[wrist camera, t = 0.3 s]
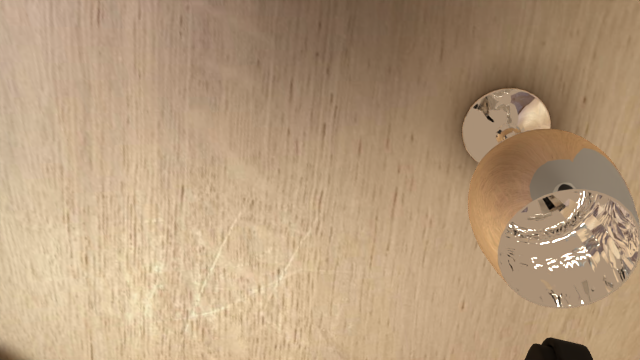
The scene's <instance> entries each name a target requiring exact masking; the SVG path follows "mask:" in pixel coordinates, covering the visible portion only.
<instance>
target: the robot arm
mask: <svg viewBox="0 0 640 360" xmlns="http://www.w3.org/2000/svg"><path fill="white" fill-rule="evenodd" d="M525 360H593V358H592V356H591V354H590V352H589V350H588V349H587V347H586V346H584V345H581V344H576V343H572V342H568V341H563V340H559V339H555V338H547V339H546V340H544V341H543V343H542V345H540V344H533V345H532V346H531V348H530V349H529V351H528V353H527V356H526V358H525Z"/></svg>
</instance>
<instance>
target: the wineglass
mask: <svg viewBox="0 0 640 360" xmlns="http://www.w3.org/2000/svg"><path fill="white" fill-rule="evenodd" d="M461 133H462V141H463V144H464V147H465V149H466V151H467V152H468V154H469V155H470V156H471V157H472V158H473V159H474V160H475V161H476V162H477V163H479V164H478V166H477V167H476V169H475V171H474V173H473V176H472V179H471V181H470V187H469V193H468V215H469V220H470V224H471V227H472V230H473V233H474V235H475V238H476V240H477V243H478V245H479V247H480V249H481V250H482V252H483V253H484V255H485V256H486V258H487V259H488V261H489V262H490V264H491V265H492V266H493V268H494V269H495V270H496V272H497V273H498V274H499V275H500V276H501V278H502V279H503V280H504V281H505V282H506V283H507V284H508V286H509V287H510V288H511V289H513V290H514V291H515V292H516V293H517V294H519V295H520V296H521V297H522V298H524V299H526V300H528V301H530V302H532V303H535V304H538V305H541V306H545V307H551V308H573V307H580V306H584V305H587V304H591V303H594V302H596V301H598V300H601V299H603V298H605V297H606V296H608V295H610V294H611V293H613V292H614V291H616V290H617V289H618V288H619V287H620V286H621V285H622V284H623V283H624V282H625V281H627V279H628V278H629V276H630V275H631V274H632V272H633V271H634V269H635V268H636V265H637V262H638V260H639V257H640V225H639V219H638V215H637V211H636V208H635V205H634V201H633V198H632V195H631V193H630V190H629V188H628V186H627V184H626V182H625V180H624V178H623V177H622V175H621V173H620V172H619V170H618V169H617V167H616V165H615V164H614V163H613V162H612V160H611V159H610V158H609V157H608V156H607V155H606V154H605V153H604V152H603V151H602V150H601V149H599V148H598V147H597V146H595V145H594V144H592V143H591V142H589V141H588V140H586V139H584V138H583V137H581V136H578V135H576V134H574V133H571V132H567V131H564V130H558V129H551V118H550V114H549V111H548V109H547V107H546V106H545V104H544V103H543V102H542V101H541V99H540V98H538V97H537V96H536V95H534V94H532V93H530V92H528V91H527V90H523V89H518V88H502V89H498V90H494V91H491V92H489V93H487V94H485V95H483V96H482V97H481V98H479V99H478V100H477V101H476V102H475V103H474V104H473V105H472V106H471V107H470V108H469V110H468V112H467V113H466V115H465V118H464V121H463V124H462V132H461Z"/></svg>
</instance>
